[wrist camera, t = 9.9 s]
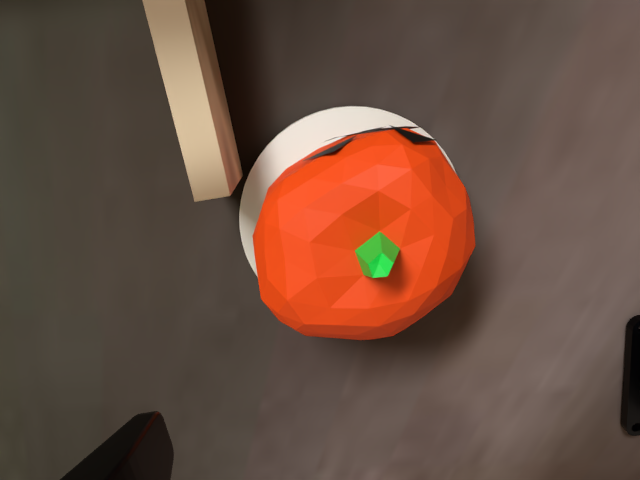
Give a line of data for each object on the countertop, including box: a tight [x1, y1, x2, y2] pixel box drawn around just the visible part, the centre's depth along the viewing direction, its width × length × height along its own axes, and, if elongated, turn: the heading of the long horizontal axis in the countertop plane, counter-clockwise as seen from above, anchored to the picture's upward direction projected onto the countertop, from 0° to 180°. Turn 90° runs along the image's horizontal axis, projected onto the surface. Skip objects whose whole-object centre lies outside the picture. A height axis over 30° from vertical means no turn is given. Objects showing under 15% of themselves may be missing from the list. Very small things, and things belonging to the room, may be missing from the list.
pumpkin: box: [252, 125, 475, 340], centre depth 16 cm, size 7×8×6 cm
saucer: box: [239, 106, 456, 277], centre depth 19 cm, size 9×9×1 cm
